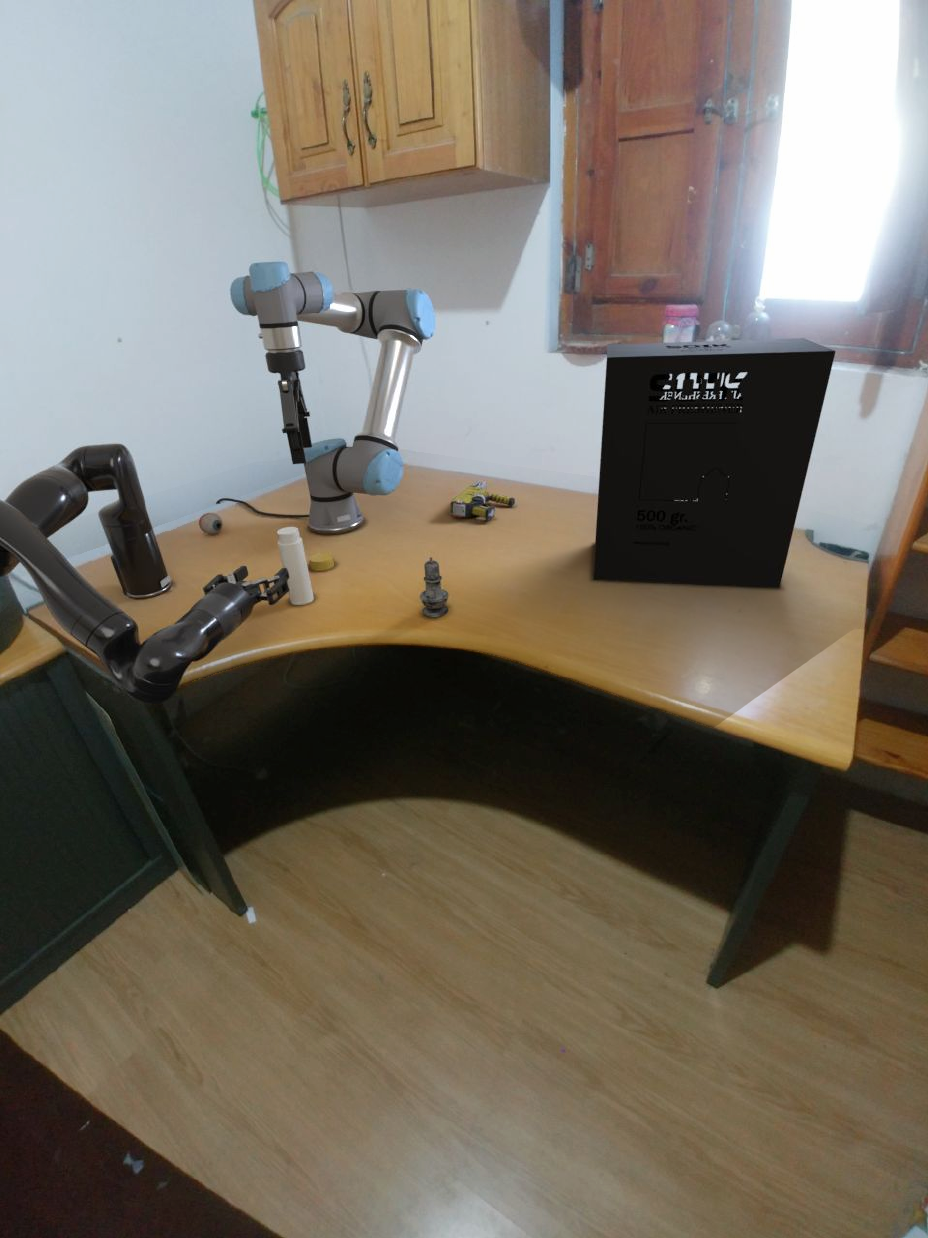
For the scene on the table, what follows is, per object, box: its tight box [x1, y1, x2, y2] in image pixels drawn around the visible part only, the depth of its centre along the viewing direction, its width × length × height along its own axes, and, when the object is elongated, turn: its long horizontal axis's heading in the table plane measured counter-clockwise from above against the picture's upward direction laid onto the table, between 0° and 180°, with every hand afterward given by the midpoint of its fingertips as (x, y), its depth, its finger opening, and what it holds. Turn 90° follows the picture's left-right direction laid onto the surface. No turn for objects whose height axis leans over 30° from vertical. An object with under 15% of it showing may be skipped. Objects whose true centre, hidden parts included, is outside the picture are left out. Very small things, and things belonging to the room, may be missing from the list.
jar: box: [276, 526, 315, 606], centre depth 127 cm, size 5×5×16 cm
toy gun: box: [449, 480, 516, 522], centre depth 174 cm, size 5×24×15 cm
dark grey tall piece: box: [419, 556, 450, 618], centre depth 120 cm, size 6×6×12 cm
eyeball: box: [198, 512, 223, 536], centre depth 167 cm, size 6×6×6 cm
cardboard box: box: [592, 337, 836, 589], centre depth 125 cm, size 38×20×45 cm, turn 78°
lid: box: [308, 551, 335, 572], centre depth 145 cm, size 6×6×2 cm
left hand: (265, 571), depth 116 cm, fingers open, 8 cm apart
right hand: (302, 455), depth 133 cm, fingers open, 13 cm apart
